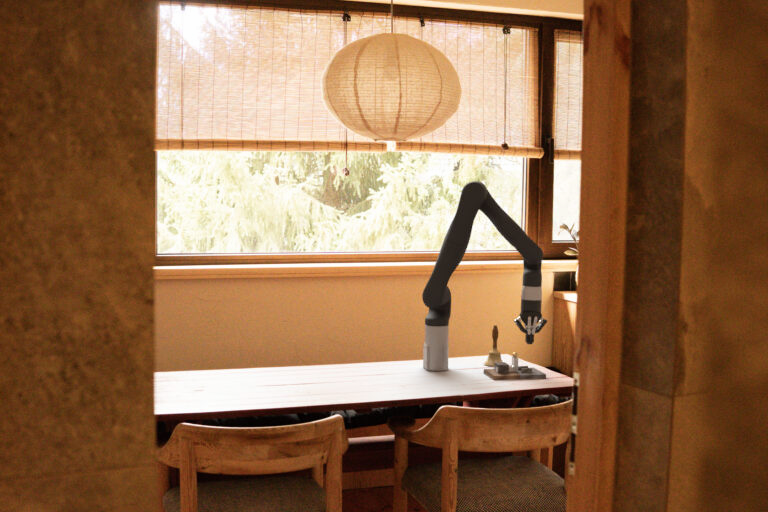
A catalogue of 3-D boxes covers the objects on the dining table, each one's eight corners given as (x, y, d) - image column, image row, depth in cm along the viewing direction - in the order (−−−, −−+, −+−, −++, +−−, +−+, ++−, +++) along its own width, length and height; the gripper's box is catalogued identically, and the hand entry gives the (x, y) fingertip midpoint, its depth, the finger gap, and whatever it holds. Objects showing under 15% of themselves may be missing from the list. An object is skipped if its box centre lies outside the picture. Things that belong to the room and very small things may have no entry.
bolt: (497, 372, 261) (497, 353, 261) (495, 371, 263) (495, 352, 263) (518, 371, 262) (518, 352, 262) (516, 370, 265) (516, 351, 264)
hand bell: (508, 364, 284) (508, 325, 283) (499, 367, 277) (500, 327, 276) (488, 362, 289) (489, 323, 288) (480, 365, 282) (481, 325, 281)
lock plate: (494, 380, 256) (494, 367, 256) (483, 373, 268) (483, 360, 267) (546, 378, 259) (546, 365, 259) (533, 371, 271) (533, 359, 271)
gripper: (518, 299, 258) (516, 346, 259) (552, 299, 261) (550, 345, 262) (511, 296, 266) (509, 342, 267) (544, 296, 268) (542, 342, 269)
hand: (529, 343), depth 264 cm, fingers closed
